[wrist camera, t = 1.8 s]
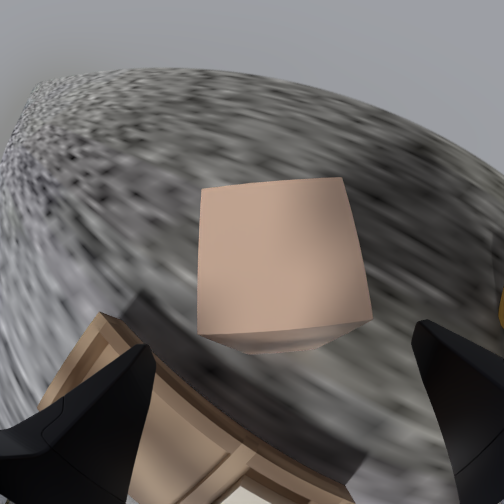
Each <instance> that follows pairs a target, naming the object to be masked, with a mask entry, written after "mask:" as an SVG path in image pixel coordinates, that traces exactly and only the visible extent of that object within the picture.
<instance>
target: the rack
mask: <svg viewBox="0 0 504 504" xmlns="http://www.w3.org/2000/svg"><path fill="white" fill-rule="evenodd" d="M136 344H144V343H143V342H142V341H141V340H140V339H139V338H138V337H137V336H136V335H135V334H134V333H133V332H132V330H131V329H130V328H129V327H128V326H127V325H126V324H125V323H124V322H123V321H122V320H120V319H117V318H114V317H112V316H109V315H107V314H104V313H102V312H99V313H98V314H97V315H96V317H95V318H94V319H93V321H92V322H91V324H90V325H89V326H88V328H87V329H86V331H85V332H84V334H83V335H82V336H81V338H80V339H79V341H78V342H77V344H76V345H75V347H74V348H73V350H72V351H71V353H70V354H69V356H68V357H67V359H66V360H65V362H64V363H63V365H62V366H61V368H60V370H59V371H58V373H57V374H56V376H55V378H54V379H53V381H52V383H51V384H50V386H49V387H48V389H47V391H46V393H45V394H44V396H43V398H42V399H41V401H40V403H39V405H38V406H37V409H38V410H39V412H40V411H41V410H43V409H45V408H46V407H48V406H49V405H51V404H52V403H54V402H55V401H57V400H58V399H60V398H61V397H62V396H65V394H67V393H68V392H70V391H71V390H72V389H74V388H75V387H77V386H78V385H79V384H81V383H82V382H84V381H85V380H87V379H88V378H89V377H91V376H92V375H94V374H95V373H96V372H98V371H99V370H101V369H102V368H103V367H105V366H106V365H108V364H109V363H110V362H112V361H113V360H115V359H116V358H117V357H119V356H120V355H122V354H123V353H124V352H126V351H127V350H129V349H130V348H131V347H133V346H134V345H136ZM152 354H153V356H154V358H155V361H156V373H155V378H154V384H153V390H152V396H151V402H150V406H149V410H148V414H147V418H146V421H145V425H144V429H143V432H142V436H141V440H140V444H139V448H138V452H137V456H136V460H135V464H134V468H133V473H132V477H131V481H130V486H129V490H128V495H130V496H131V497H132V498H133V499H134V500H135V501H137V502H138V503H139V504H212V503H214V502H215V501H216V500H217V499H218V498H220V497H221V496H222V495H223V494H224V493H225V492H226V491H227V490H229V489H230V488H231V487H232V486H233V485H234V484H235V483H236V482H237V481H238V480H239V479H240V478H241V477H242V476H244V475H246V476H248V477H250V478H251V479H253V480H254V481H256V482H258V483H260V484H261V485H263V486H265V487H267V488H268V489H270V490H272V491H274V492H276V493H277V494H279V495H281V496H283V497H285V498H287V499H289V500H291V501H293V502H295V503H297V504H356V503H355V502H354V500H353V498H352V497H351V495H350V493H349V491H348V490H347V488H346V486H345V485H342V484H340V483H338V482H336V481H334V480H332V479H330V478H328V477H326V476H324V475H322V474H320V473H318V472H316V471H314V470H312V469H310V468H308V467H306V466H304V465H303V464H301V463H299V462H297V461H295V460H294V459H292V458H290V457H288V456H287V455H285V454H283V453H282V452H280V451H278V450H277V449H275V448H274V447H272V446H270V445H269V444H267V443H266V442H264V441H263V440H261V439H260V438H258V437H257V436H255V435H254V434H252V433H251V432H249V431H248V430H246V429H245V428H243V427H242V426H241V425H239V424H238V423H236V422H235V421H234V420H232V419H231V418H229V417H228V416H227V415H225V414H224V413H223V412H221V411H220V410H219V409H218V408H216V407H215V406H214V405H212V404H211V403H210V402H209V401H207V400H206V399H205V398H204V397H202V396H201V395H200V394H199V393H198V392H196V391H195V390H194V389H193V388H192V387H190V386H189V385H188V384H187V383H186V382H185V381H183V380H182V379H181V378H180V377H179V376H178V375H177V374H176V373H174V372H173V371H172V370H171V369H170V368H169V367H168V366H167V365H166V364H165V363H164V362H163V361H161V360H160V359H159V358H158V357H157V356H156V355H155V354H154V353H153V352H152Z"/></svg>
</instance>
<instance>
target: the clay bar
mask: <svg viewBox="0 0 504 504" xmlns="http://www.w3.org/2000/svg"><path fill="white" fill-rule="evenodd" d="M371 320H373V315H372V308H371V302H370V296H369V290H368V284H367V279H366V273H365V268H364V263H363V258H362V254H361V249H360V244H359V240H358V236H357V231H356V227H355V223H354V219H353V215H352V211H351V208H350V204H349V200H348V196H347V193H346V189H345V186H344V183H343V179H342V177H334V178H313V179H297V180H283V181H271V182H260V183H249V184H239V185H230V186H222V187H213V188H206V189H202V191H201V208H200V227H199V251H198V296H197V334H198V335H200V336H202V337H205V338H207V339H210V340H212V341H215V342H217V343H220V344H222V345H225V346H227V347H230V348H233V349H235V350H238V351H241V352H243V353H246V354H249V355H252V354H268V353H282V352H293V351H303V350H313V349H316V348H318V347H321V346H323V345H325V344H327V343H329V342H331V341H333V340H335V339H337V338H339V337H341V336H343V335H345V334H347V333H349V332H351V331H352V330H354V329H356V328H358V327H360V326H362V325H364V324H366V323H367V322H369V321H371Z"/></svg>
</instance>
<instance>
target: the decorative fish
mask: <svg viewBox="0 0 504 504" xmlns="http://www.w3.org/2000/svg"><path fill="white" fill-rule="evenodd" d="M498 316H499V320H500V324H501V326H502V327H503V329H504V288H503V292H502V297H501V301H500V306H499V313H498Z"/></svg>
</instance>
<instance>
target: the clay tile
mask: <svg viewBox="0 0 504 504" xmlns="http://www.w3.org/2000/svg"><path fill="white" fill-rule="evenodd" d="M212 504H297V503H295V502H293V501H291V500H289V499H287V498H285V497H283V496H281V495H279V494H277V493H276V492H274V491H272V490H270V489H268V488H267V487H265V486H263V485H261V484H260V483H258V482H256V481H254V480H253V479H251V478H250V477H248V476H246V475H244V476H242V477H241V478H240V479H239V480H238V481H237V482H236V483H235V484H234V485H233V486H232V487H231V488H230V489H229V490H227V491H226V492H225V493H224V494H223V495H222V496H221V497H220V498H218V499H217V500H216V501H215V502H214V503H212Z"/></svg>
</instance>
